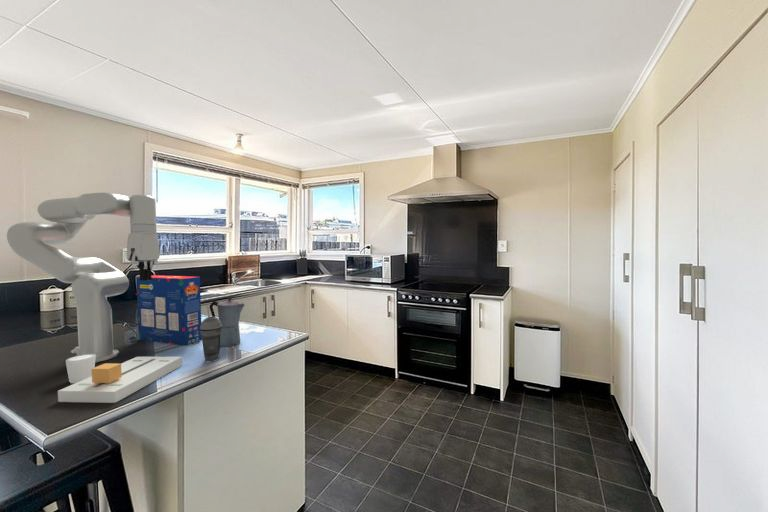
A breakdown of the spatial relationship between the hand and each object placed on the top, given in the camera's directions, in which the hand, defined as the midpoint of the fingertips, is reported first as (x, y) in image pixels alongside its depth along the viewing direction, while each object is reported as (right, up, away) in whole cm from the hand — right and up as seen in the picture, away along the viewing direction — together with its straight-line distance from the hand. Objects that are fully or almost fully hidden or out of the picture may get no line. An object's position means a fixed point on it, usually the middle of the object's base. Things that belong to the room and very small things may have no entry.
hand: (145, 280), depth 116 cm
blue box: (-8, -29, +25) cm, 38 cm away
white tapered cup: (-8, -30, -17) cm, 35 cm away
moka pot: (+21, -28, +18) cm, 40 cm away
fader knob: (+8, -27, -25) cm, 38 cm away
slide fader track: (+8, -30, -18) cm, 36 cm away
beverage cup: (+24, -29, 0) cm, 38 cm away
